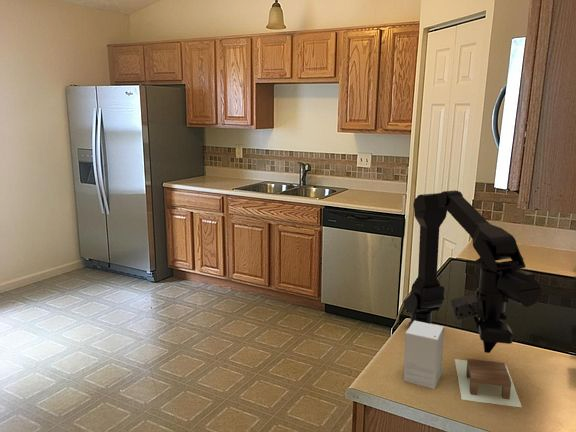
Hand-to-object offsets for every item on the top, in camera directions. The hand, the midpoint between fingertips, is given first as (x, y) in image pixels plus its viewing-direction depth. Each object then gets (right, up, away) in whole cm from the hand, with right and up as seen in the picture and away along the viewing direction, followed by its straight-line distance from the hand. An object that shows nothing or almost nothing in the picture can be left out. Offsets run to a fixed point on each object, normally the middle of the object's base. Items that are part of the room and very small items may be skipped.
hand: (486, 351), depth 107 cm
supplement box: (-14, -7, +2) cm, 16 cm away
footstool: (0, -4, +2) cm, 5 cm away
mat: (0, -7, 0) cm, 7 cm away
